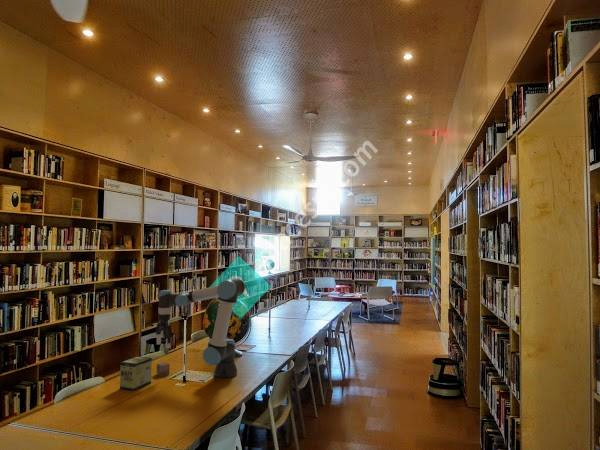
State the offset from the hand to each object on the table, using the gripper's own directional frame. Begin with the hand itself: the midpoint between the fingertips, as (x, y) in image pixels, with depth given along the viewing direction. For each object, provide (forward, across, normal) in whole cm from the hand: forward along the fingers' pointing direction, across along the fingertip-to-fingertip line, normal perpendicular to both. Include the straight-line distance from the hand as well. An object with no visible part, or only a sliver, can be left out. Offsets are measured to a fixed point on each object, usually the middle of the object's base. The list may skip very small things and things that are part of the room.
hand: (163, 346), depth 271 cm
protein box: (+19, -10, +22) cm, 30 cm away
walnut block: (+18, 0, 0) cm, 18 cm away
